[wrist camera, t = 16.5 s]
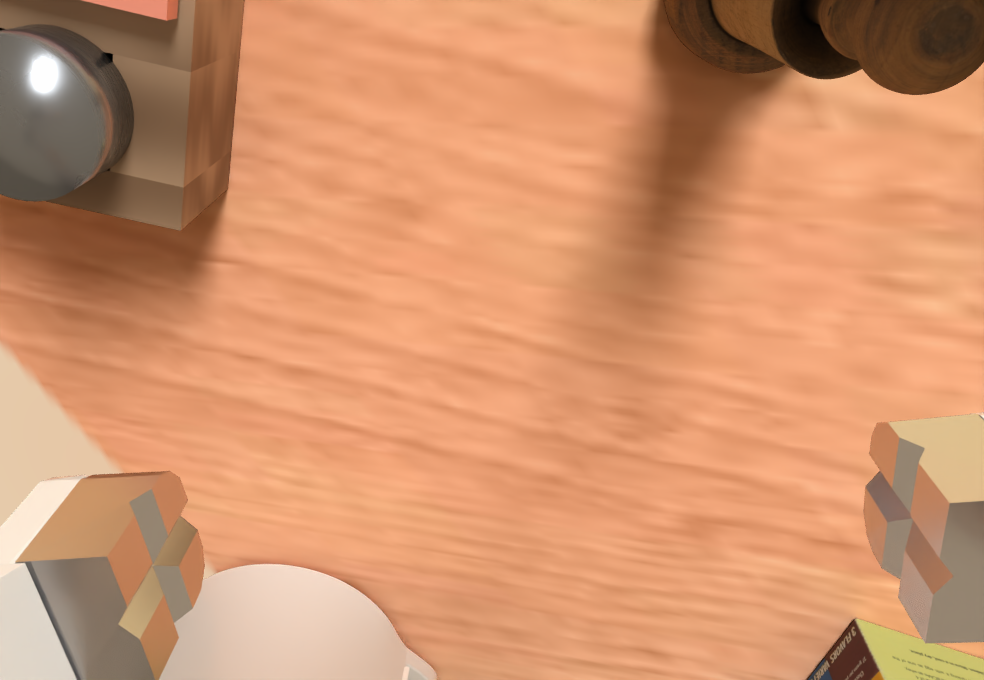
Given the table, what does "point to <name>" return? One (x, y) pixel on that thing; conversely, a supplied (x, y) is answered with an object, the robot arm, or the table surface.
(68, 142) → the grey domed cylinder
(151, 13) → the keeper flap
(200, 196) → the block
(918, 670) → the protein box
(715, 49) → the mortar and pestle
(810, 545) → the table surface
